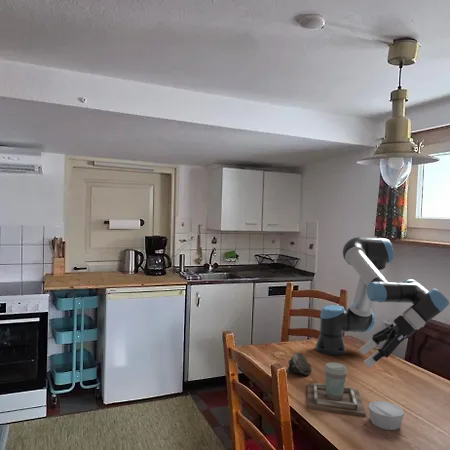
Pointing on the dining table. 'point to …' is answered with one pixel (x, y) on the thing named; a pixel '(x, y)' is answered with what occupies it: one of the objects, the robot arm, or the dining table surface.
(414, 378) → the dining table surface
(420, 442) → the dining table surface
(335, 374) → the coffee cup
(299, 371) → the fossil
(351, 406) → the locating board
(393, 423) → the ramekin
